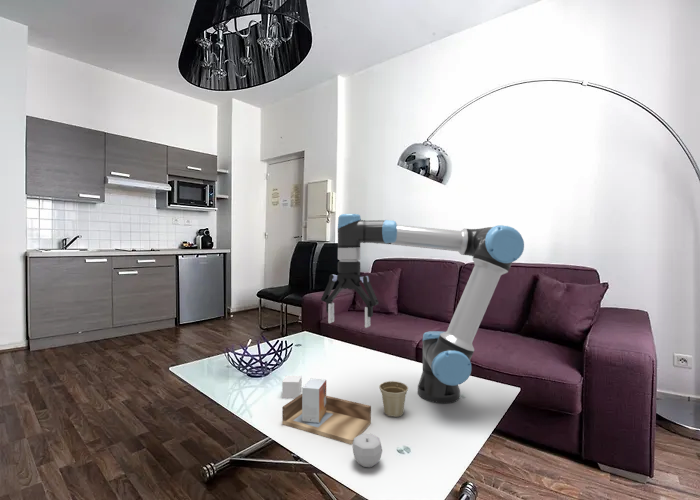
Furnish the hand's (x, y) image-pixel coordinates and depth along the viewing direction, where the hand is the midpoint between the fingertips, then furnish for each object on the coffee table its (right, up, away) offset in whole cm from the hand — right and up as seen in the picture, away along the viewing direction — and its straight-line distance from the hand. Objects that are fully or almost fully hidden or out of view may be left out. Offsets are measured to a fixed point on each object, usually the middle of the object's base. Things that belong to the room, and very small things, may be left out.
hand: (348, 324), depth 116 cm
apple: (+5, -29, -28) cm, 41 cm away
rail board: (-7, -29, -8) cm, 31 cm away
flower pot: (+15, -29, -1) cm, 32 cm away
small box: (-11, -28, -6) cm, 30 cm away
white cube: (-21, -29, +12) cm, 38 cm away
